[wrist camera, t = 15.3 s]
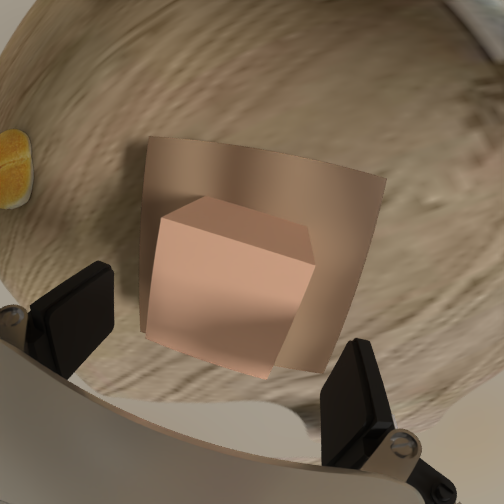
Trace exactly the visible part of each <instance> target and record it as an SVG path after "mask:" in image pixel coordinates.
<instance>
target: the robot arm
mask: <svg viewBox="0 0 504 504" xmlns="http://www.w3.org/2000/svg"><path fill="white" fill-rule="evenodd" d="M30 309H31V311H30V312H28V313H27V311H26V309H25V308H24V307H22V306H19V305H14V304H13V305H7V306H4V307H2V308H0V504H456V503H455V501H456V498H457V491H456V488H455V486H454V484H453V483H452V482H451V481H450V480H449V479H447V478H446V477H445V476H443V475H442V474H440V473H439V472H438V471H436V470H435V469H434V468H432V467H431V466H430V465H428V464H427V463H426V462H424V461H423V460H422V459H421V458H420V455H421V452H422V446H421V443H420V441H419V439H418V438H417V436H416V435H414V434H413V433H412V432H410V431H408V430H405V429H395V426H394V422H393V418H392V414H391V410H390V406H389V402H388V399H387V395H386V392H385V388H384V384H383V381H382V378H381V375H380V372H379V368H378V365H377V362H376V359H375V356H374V352H373V349H372V346H371V343H370V341H368V340H363V339H359V338H355V339H354V340H353V341H349V342H348V343H347V345H346V347H345V348H344V350H343V352H342V354H341V356H340V358H339V360H338V361H337V363H336V365H335V367H334V369H333V370H332V372H331V374H330V376H329V377H328V379H327V381H326V382H325V384H324V386H323V388H322V390H321V393H320V409H321V451H322V452H321V462H322V466H319V465H311V464H304V463H297V462H291V461H285V460H279V459H274V458H268V457H263V456H258V455H253V454H249V453H245V452H241V451H237V450H233V449H229V448H225V447H222V446H218V445H215V444H211V443H208V442H205V441H201V440H198V439H195V438H192V437H189V436H186V435H183V434H180V433H177V432H175V431H172V430H169V429H166V428H164V427H161V426H159V425H156V424H154V423H151V422H149V421H147V420H144V419H142V418H139V417H137V416H135V415H133V414H130V413H128V412H126V411H124V410H122V409H120V408H118V407H116V406H113V405H111V404H109V403H107V402H105V401H103V400H101V399H99V398H98V397H96V396H94V395H92V394H90V393H88V392H86V391H85V390H83V389H81V388H79V387H78V386H76V385H74V384H73V383H71V382H69V381H67V380H68V379H69V377H71V375H72V374H73V373H74V372H75V371H76V370H77V369H78V368H79V366H80V365H81V364H82V363H83V362H84V361H85V360H86V359H87V358H88V357H89V355H90V354H91V353H92V352H93V351H94V350H95V349H96V348H97V347H98V346H99V345H100V343H101V342H102V341H103V340H104V339H105V338H106V337H107V336H108V335H109V334H110V333H111V332H112V330H113V328H114V271H113V270H112V269H111V266H110V265H109V264H106V263H103V262H101V261H96V262H94V263H92V264H91V265H89V266H88V267H86V268H84V269H83V270H81V271H80V272H78V273H77V274H75V275H74V276H72V277H70V278H69V279H67V280H66V281H64V282H63V283H61V284H60V285H58V286H57V287H55V288H54V289H52V290H51V291H50V292H48V293H47V294H45V295H44V296H42V297H41V298H39V299H38V300H37V301H35V302H34V303H32V304H31V305H30ZM457 504H461V503H460V502H459V503H457Z"/></svg>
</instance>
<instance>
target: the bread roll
mask: <svg viewBox="0 0 504 504" xmlns="http://www.w3.org/2000/svg"><path fill="white" fill-rule="evenodd" d="M31 154H32V149H31V143H30V139H29V137H28V136H27V134H25V133H24V132H22V131H20V130H18V129H9V130H6V131H4V132H2V133H1V134H0V208H2V209H8V208H9V209H14V208H17V207H20V206H21V205H23V204H25V203H26V202H28V200H29V198H30V195H31V191H32V186H33V180H34V170H33V163H32V158H31Z"/></svg>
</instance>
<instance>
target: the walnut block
mask: <svg viewBox="0 0 504 504" xmlns="http://www.w3.org/2000/svg"><path fill="white" fill-rule="evenodd" d="M386 181H387V179H386V178H383V177H379V176H376V175H372V174H369V173H365V172H362V171H358V170H354V169H350V168H346V167H342V166H338V165H334V164H330V163H326V162H322V161H317V160H313V159H308V158H304V157H299V156H294V155H289V154H284V153H279V152H273V151H268V150H262V149H256V148H250V147H243V146H237V145H230V144H223V143H215V142H207V141H198V140H189V139H178V138H167V137H153V136H149V140H148V148H147V155H146V164H145V173H144V183H143V194H142V207H141V222H140V246H139V309H140V332H143V333H146V326H147V316H148V306H149V297H150V288H151V280H152V273H153V266H154V259H155V252H156V246H157V240H158V234H159V228H160V222H161V217H163V216H165V215H167V214H169V213H171V212H173V211H175V210H177V209H179V208H181V207H183V206H185V205H187V204H189V203H192V202H194V201H196V200H198V199H200V198H202V197H204V196H209V197H212V198H216V199H219V200H222V201H226V202H229V203H233V204H236V205H239V206H243V207H246V208H249V209H253V210H256V211H259V212H262V213H266V214H269V215H272V216H275V217H279V218H282V219H285V220H288V221H291V222H294V223H297V224H300V225H303V226H307V228H308V232H309V237H310V241H311V246H312V250H313V255H314V259H315V264H316V266H315V269H314V272H313V274H312V277H311V279H310V282H309V284H308V287H307V289H306V292H305V294H304V297H303V299H302V301H301V304H300V306H299V309H298V311H297V313H296V316H295V318H294V320H293V323H292V325H291V327H290V330H289V332H288V334H287V336H286V339H285V341H284V343H283V345H282V348H281V350H280V352H279V354H278V357H277V359H276V361H275V363H274V365H273V366H278V367H284V368H290V369H296V370H302V371H308V372H315V373H322V374H323V373H324V371H325V369H326V366H327V364H328V362H329V359H330V357H331V355H332V352H333V350H334V347H335V345H336V342H337V340H338V337H339V335H340V332H341V330H342V327H343V325H344V322H345V319H346V317H347V314H348V311H349V308H350V306H351V303H352V300H353V297H354V294H355V291H356V288H357V286H358V283H359V279H360V276H361V273H362V270H363V267H364V264H365V261H366V257H367V254H368V251H369V247H370V244H371V240H372V237H373V233H374V230H375V226H376V222H377V218H378V214H379V211H380V206H381V202H382V198H383V194H384V190H385V185H386Z"/></svg>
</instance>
